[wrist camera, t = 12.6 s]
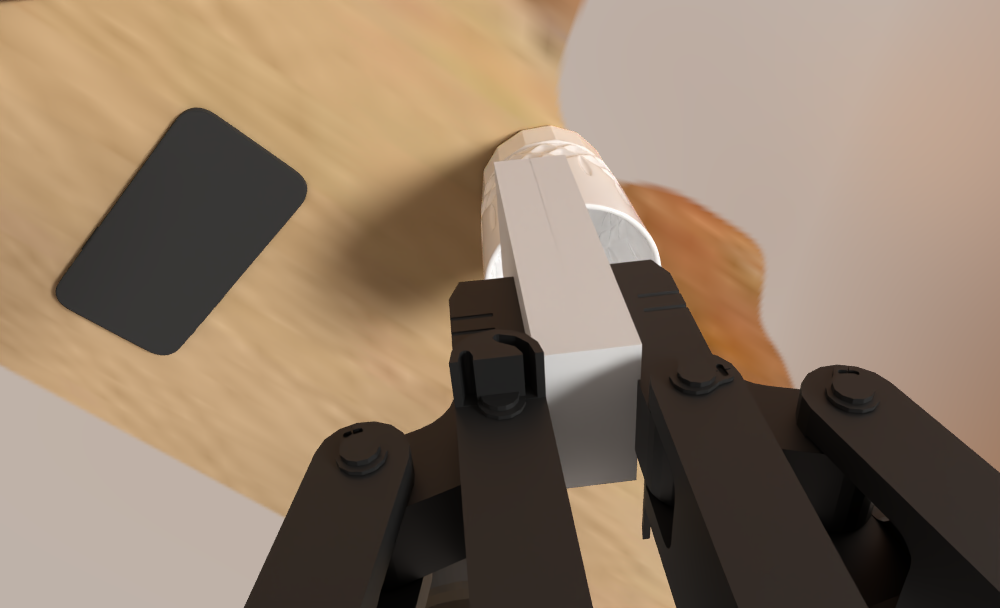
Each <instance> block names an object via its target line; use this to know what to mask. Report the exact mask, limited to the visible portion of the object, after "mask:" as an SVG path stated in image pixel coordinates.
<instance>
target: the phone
mask: <svg viewBox="0 0 1000 608" xmlns="http://www.w3.org/2000/svg"><path fill="white" fill-rule="evenodd" d="M306 194H307V184H306V182H305V180H304V178H303V177H302V176H301V175H300V174H299V173H298V172H297V171H295V170H294V169H293V168H291V167H290V166H288V165H287V164H286V163H284V162H283V161H281V160H280V159H279V158H277V157H276V156H274V155H273V154H271V153H270V152H269V151H267V150H266V149H264V148H263V147H262V146H260V145H259V144H257V143H256V142H254V141H253V140H252V139H250V138H249V137H247V136H246V135H244V134H243V133H242V132H240V131H239V130H237V129H236V128H234V127H233V126H232V125H230V124H229V123H227V122H226V121H224V120H223V119H221V118H220V117H218V116H217V115H216V114H214V113H212V112H210V111H208V110H206V109H203V108H190V109H188V110H186V111H184V112H183V113H182V114H181V115H180V116H179V117H178V118H177V119H176V121H175V122H174V123H173V125H172V126H171V128H170V129H169V130H168V132H167V133H166V134H165V136H164V137H163V139H162V140H161V141H160V143H159V144H158V146H157V147H156V148H155V150H154V151H153V152H152V154H151V155H150V157H149V158H148V159H147V161H146V162H145V164H144V165H143V166H142V168H141V169H140V171H139V172H138V173H137V175H136V176H135V177H134V179H133V180H132V182H131V183H130V184H129V186H128V187H127V189H126V190H125V191H124V193H123V194H122V195H121V197H120V198H119V200H118V201H117V202H116V204H115V205H114V207H113V208H112V209H111V211H110V212H109V213H108V215H107V216H106V218H105V219H104V220H103V222H102V223H101V225H100V226H99V227H97V228H96V230H95V231H94V233H93V234H92V235H91V237H90V238H89V240H88V241H87V242H86V244H85V245H84V247H83V248H82V251H81V252H80V254H79V255H78V256H77V258H76V259H75V261H74V262H73V263H72V265H71V266H70V268H69V269H68V270H67V272H66V273H65V275H64V276H63V277H62V279H61V280H60V282H59V284H58V285H57V288H56V297H57V299H58V300H59V302H60V303H61V304H62V305H63V306H65V307H66V308H67V309H69V310H71V311H73V312H75V313H76V314H78V315H80V316H82V317H84V318H86V319H88V320H90V321H92V322H93V323H95V324H97V325H99V326H101V327H103V328H105V329H107V330H109V331H111V332H113V333H114V334H116V335H118V336H120V337H122V338H124V339H126V340H128V341H130V342H132V343H134V344H135V345H137V346H139V347H141V348H143V349H145V350H147V351H149V352H151V353H154V354H158V355H169V354H172V353H174V352H176V351H177V350H178V349H179V348H180V347H181V346H182V345H183V344H184V343H185V341H186V340H187V339H188V338H189V337H190V336H191V335H192V334H193V333H194V332H195V330H196V329H197V327H198V326H199V325H200V324H201V323H202V322H203V321H204V320H205V318H206V317H207V316H208V315H209V314H210V313H211V311H212V310H213V308H215V307H216V306H217V304H218V303H219V302H220V301H221V300H222V298H223V297H224V296H225V294H226V293H227V292H228V291H229V290H230V288H231V287H232V286H233V285H234V284H235V282H236V281H237V280H238V279H239V278H240V277H241V275H242V274H243V273H244V272H245V271H246V270H247V268H248V267H249V266H250V265H251V264H252V262H253V261H254V260H255V259H256V258H257V257H258V255H259V254H260V253H261V252H262V251H263V249H264V248H265V247H266V246H267V245H268V244H269V242H270V241H271V240H272V239H273V238H274V236H275V235H276V234H277V233H278V232H279V231H280V229H281V228H282V227H283V226H284V225H285V224H286V222H287V221H288V220H289V219H290V218H291V216H292V215H293V214H294V213H295V212H296V211H297V209H298V208H299V207H300V206H301V204H302V203H303V201H304V200H305V197H306Z"/></svg>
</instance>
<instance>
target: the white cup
mask: <svg viewBox="0 0 1000 608" xmlns="http://www.w3.org/2000/svg"><path fill="white" fill-rule="evenodd" d="M556 155H565V156H566V158H567V161H568V163H569V166H570V168H571V171H572V173H573V175H574V178H575V180H576V183H577V185H578V188H579V190H580V193H581V195H582V198H583V200H584V203H585V205H586V207H587V210H588V212H589V215H590V217H591V220H592V222H593V225H594V227H595V230H596V232H597V234H598V237H599V239H600V242H601V244H602V247H603V249H604V252H605V254H606V257H607V259H608V262H609V264H614V263H623V262H632V261H641V260H650V259H651V260H653V261H654V262H655V263H657V264H658V265H659V266H661V262H660V257H659V253H658V250H657V247H656V245H655V243H654V241H653V239H652V237H651V236H650V234H649V232H648V231H647V229H646V227H645V226H644V224H643V222H642V221H641V219H640V217H639V216H638V214H637V212H636V211H635V209H634V207H633V205H632V204H631V202H630V200H629V199H628V197H627V195H626V194H625V192H624V190H623V189H622V187H621V186H620V185H619V183H618V182H617V180H616V178H615V176H614V175H613V174H612V173H611V171H610V169H609V168H608V167H607V166H606V164H605V163H604V162H603V160H602V158H601V157H600V155H599V153H598V151H597V150H596V149H595V148H594V147H593V146H592V145H590V144H589V143H588V142H587V141H586V140H585V139H584V138H583V137H582V136H580V135H579V134H578V133H577V132H574V131H570V130H566V129H562V128H558V127H555V126H551V125H549V126H543V127H538V128H532V129H527V130H522V131H520V132H518V133H517V134H516V135H514V136H513V137H511V138H510V139H508V140H507V141H505V142H504V143H502V144H501V145H499V146H498V147H497V149H496V150H495V152H494V154H493V155H492V157H491V159H490V160H489V162H488V164H487V165H486V167H485V169H484V173H483V188H482V204H481V240H482V257H483V276H484V280H486V279H495V278H504V277H503V271H502V259H501V246H500V234H499V221H498V209H497V196H496V184H495V171H494V162H499V161H508V160H518V159H527V158H537V157H547V156H556Z"/></svg>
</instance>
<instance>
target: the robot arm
mask: <svg viewBox="0 0 1000 608" xmlns="http://www.w3.org/2000/svg"><path fill="white" fill-rule="evenodd" d="M494 171H495V184H496V196H497V209H498V221H499V234H500V246H501V259H502V271H503V277H504V278H495V279H486V280H477V281H468V282H459V284H458V285H457V287H456V289H455V290H454V292H453V294H452V295H451V297H450V299H449V307H450V320H451V334H452V348H453V351H452V352H451V357H450V361H449V367H450V375H451V382H452V389H453V397H454V400H453V402H452V404H451V406H450V408H449V409H448V410H447V411H446V412H445V413H444V415H443V416H441V417H440V418H439V419H437V420H436V421H434V422H433V423H431V424H429V425H427V426H425V427H423V428H421V429H419V430H416V431H413V432H410V433H408V434H405V435H404V433H403V432H401V431H400V430H398V429H397V428H395V427H394V426H392V425H389V424H384V423H380V422H364V423H356V424H353V425H350V426H347V427H345V428H342V429H339V430H338V431H336V432H335V433H333V434H332V435H331V436H329V437H328V438H326V439H325V440H324V441H323V443H322V444H321V445H320V447H319V448H318V449H317V451H316V452H315V454H314V456H313V458H312V461H311V463H310V465H309V467H308V469H307V472H306V474H305V476H304V478H303V480H302V482H301V485H300V487H299V489H298V491H297V493H296V495H295V498H294V500H293V502H292V504H291V506H290V509H289V511H288V513H287V515H286V517H285V519H284V522H283V524H282V526H281V528H280V530H279V532H278V535H277V537H276V539H275V541H274V544H273V546H272V548H271V550H270V552H269V554H268V556H267V559H266V561H265V563H264V565H263V567H262V570H261V572H260V574H259V576H258V578H257V581H256V582H255V585H254V587H253V589H252V591H251V594H250V596H249V598H248V600H247V602H246V604H245V606H244V608H593V606H592V601H591V597H590V592H589V588H588V583H587V579H586V574H585V570H584V565H583V561H582V556H581V552H580V547H579V543H578V538H577V534H576V529H575V525H574V520H573V516H572V511H571V507H570V502H569V498H568V493H567V489H566V488H574V487H582V486H590V485H598V484H607V483H615V482H623V481H631V480H636V474H637V458H638V461H639V464H640V467H641V470H642V473H643V476H644V479H645V480H644V499H643V518H642V535H643V539H649V538H650V526H651V529H652V532H653V535H654V538H655V542H656V545H657V548H658V551H659V554H660V557H661V561H662V564H663V567H664V570H665V573H666V576H667V580H668V583H669V586H670V589H671V592H672V595H673V599H674V602H675V605H676V608H1000V473H999V472H998V471H997V470H996V469H994V468H993V467H992V466H991V465H990V464H989V463H987V462H986V461H985V460H984V459H983V458H981V457H980V456H979V455H978V454H976V453H975V452H974V451H973V450H971V449H970V448H969V447H968V446H967V445H966V444H964V443H963V442H962V441H961V440H960V439H958V438H957V437H956V436H955V435H954V434H952V433H951V432H950V431H949V430H947V429H946V428H945V427H944V426H942V425H941V424H940V423H939V422H938V421H937V420H935V419H934V418H933V417H932V416H930V415H929V414H928V413H927V412H926V411H925V410H923V409H922V408H921V407H920V406H919V405H917V404H916V403H915V402H913V401H912V400H911V399H910V398H909V397H908V396H906V395H905V394H904V393H903V392H902V391H900V390H899V389H898V388H897V387H896V386H894V385H893V384H892V383H891V382H889V381H887V380H886V379H884V378H883V377H881V376H879V375H878V374H876V373H874V372H871V371H868V370H865V369H862V368H859V367H855V366H845V365H832V366H825V367H820V368H818V369H816V370H814V371H812V372H811V373H808V374H807V376H806V377H805V379H804V380H803V382H802V383H801V388H800V389H791V388H782V387H773V386H766V385H760V384H755V383H751V382H748V381H745V380H744V379H743V378H742V376H741V374H740V373H739V372H738V371H737V369H736V368H735V367H734V366H733V365H732V364H731V363H729V362H728V361H726V360H724V359H722V358H720V357H719V356H716V355H712V353H711V351H710V349H709V347H708V345H707V343H706V341H705V340H704V338H703V336H702V334H701V332H700V330H699V328H698V326H697V324H696V322H695V320H694V318H693V316H692V315H691V313H690V311H689V309H688V307H687V308H686V303H685V301H684V299H683V297H682V295H681V293H680V294H679V290H678V288H677V286H676V284H675V282H674V280H673V278H672V276H671V274H670V273H669V272H668V271H666V270H665V269H664V268H662V267H661V266H659V265H658V264H657V263H655V262H654V261H653V260H651V259H650V260H641V261H632V262H623V263H614V264H609V262H608V259H607V257H606V254H605V252H604V249H603V247H602V244H601V242H600V239H599V237H598V234H597V232H596V230H595V227H594V225H593V222H592V220H591V217H590V215H589V212H588V210H587V207H586V205H585V203H584V200H583V198H582V195H581V193H580V190H579V188H578V185H577V183H576V180H575V178H574V175H573V173H572V171H571V168H570V166H569V163H568V161H567V158H566V156H565V155H556V156H547V157H537V158H527V159H518V160H508V161H499V162H494Z"/></svg>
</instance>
